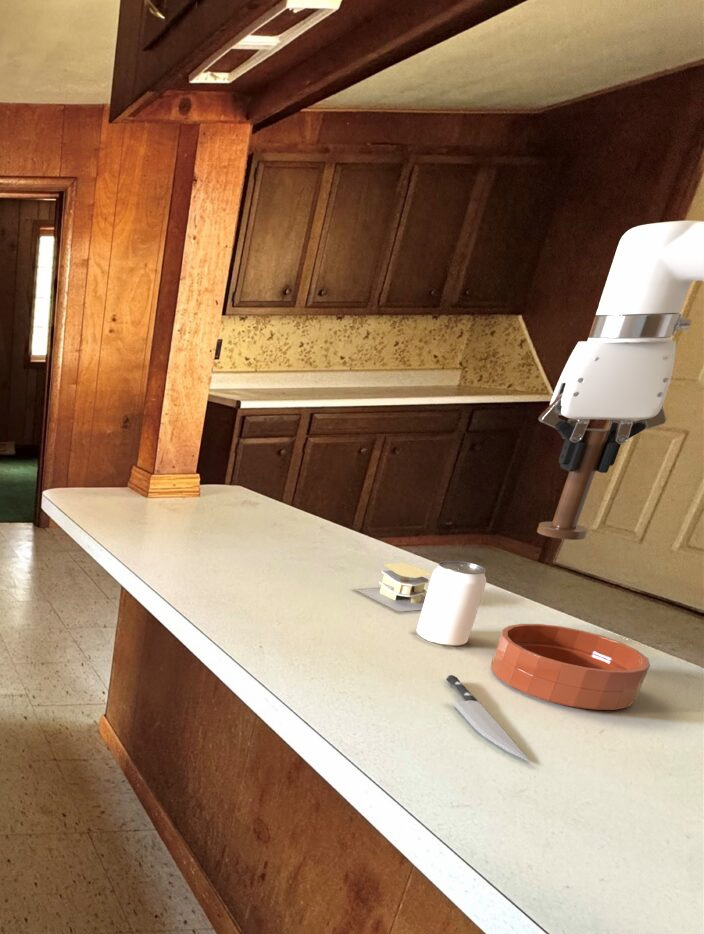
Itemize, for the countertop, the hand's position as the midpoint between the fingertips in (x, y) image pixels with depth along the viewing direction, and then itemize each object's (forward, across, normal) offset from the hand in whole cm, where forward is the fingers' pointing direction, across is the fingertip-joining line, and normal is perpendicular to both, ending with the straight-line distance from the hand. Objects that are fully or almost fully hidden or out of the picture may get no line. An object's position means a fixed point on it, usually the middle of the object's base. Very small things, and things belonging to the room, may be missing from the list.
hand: (583, 469), depth 92 cm
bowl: (+27, +1, +14) cm, 31 cm away
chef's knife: (+27, +14, +28) cm, 41 cm away
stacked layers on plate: (+27, +13, -13) cm, 33 cm away
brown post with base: (+10, 0, 0) cm, 10 cm away
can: (+27, +11, +2) cm, 29 cm away
